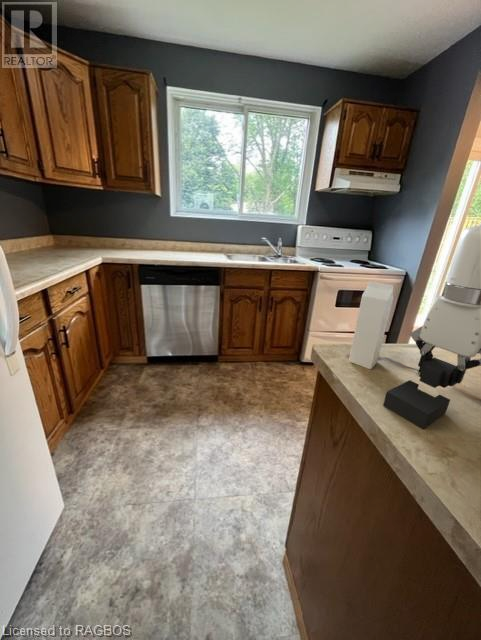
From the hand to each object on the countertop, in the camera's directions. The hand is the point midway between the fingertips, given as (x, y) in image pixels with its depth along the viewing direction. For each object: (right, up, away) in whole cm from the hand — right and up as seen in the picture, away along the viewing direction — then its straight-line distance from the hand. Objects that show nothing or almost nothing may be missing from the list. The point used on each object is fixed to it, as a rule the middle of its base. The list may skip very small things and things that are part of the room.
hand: (437, 376), depth 58 cm
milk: (-8, 0, +17) cm, 19 cm away
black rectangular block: (0, -1, 0) cm, 1 cm away
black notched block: (-6, -6, -2) cm, 9 cm away
